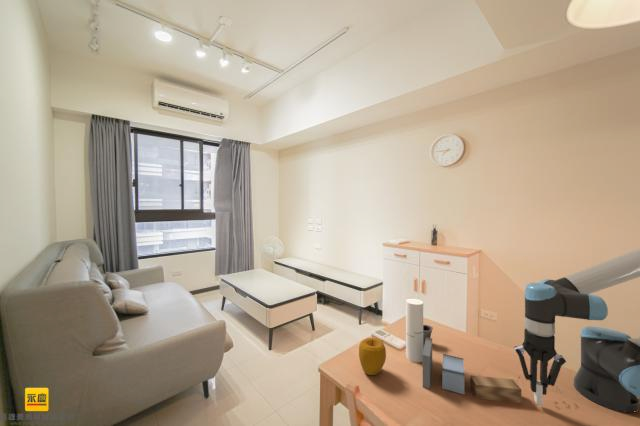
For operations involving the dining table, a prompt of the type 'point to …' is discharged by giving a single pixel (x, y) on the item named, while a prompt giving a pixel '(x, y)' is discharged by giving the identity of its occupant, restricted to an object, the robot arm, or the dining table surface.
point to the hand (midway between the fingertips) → (538, 401)
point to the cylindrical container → (414, 330)
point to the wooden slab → (495, 389)
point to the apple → (372, 355)
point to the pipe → (426, 332)
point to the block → (453, 374)
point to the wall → (427, 363)
